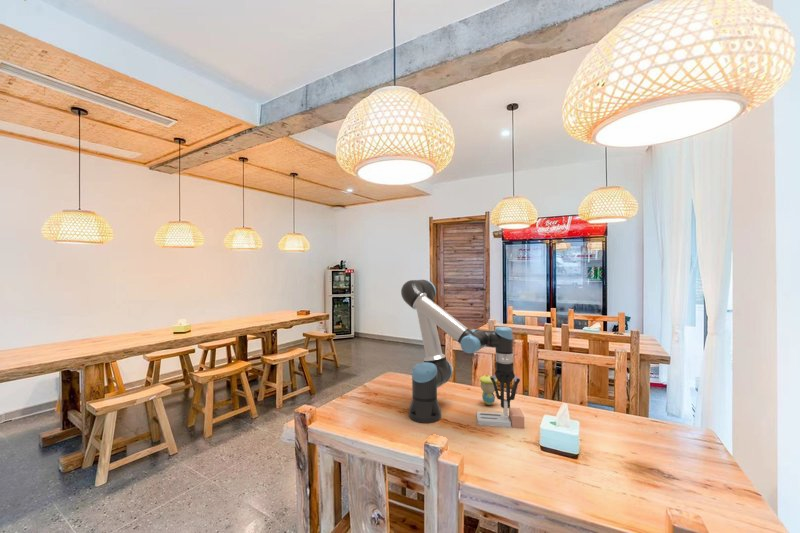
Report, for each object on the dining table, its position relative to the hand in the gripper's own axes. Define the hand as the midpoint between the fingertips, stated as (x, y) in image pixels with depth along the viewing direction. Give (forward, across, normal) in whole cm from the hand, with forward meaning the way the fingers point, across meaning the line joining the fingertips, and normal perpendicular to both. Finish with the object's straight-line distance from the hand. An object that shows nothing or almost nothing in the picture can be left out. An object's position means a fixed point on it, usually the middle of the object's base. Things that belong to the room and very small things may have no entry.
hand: (505, 414), depth 142 cm
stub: (+3, +5, 0) cm, 6 cm away
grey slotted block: (+3, -5, 0) cm, 6 cm away
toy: (+4, -6, +19) cm, 20 cm away
